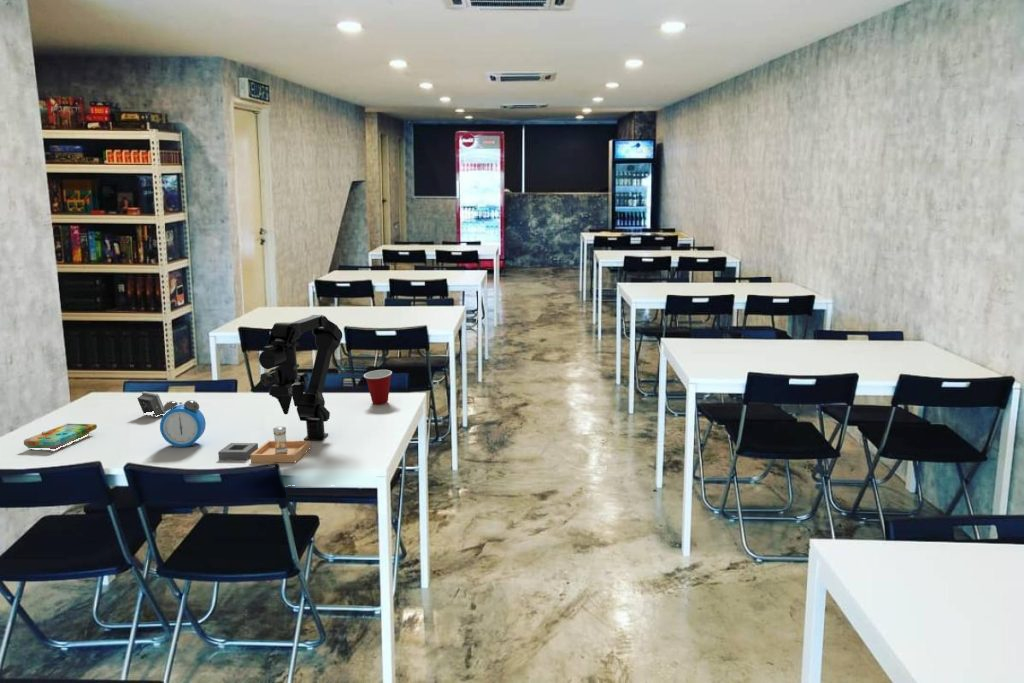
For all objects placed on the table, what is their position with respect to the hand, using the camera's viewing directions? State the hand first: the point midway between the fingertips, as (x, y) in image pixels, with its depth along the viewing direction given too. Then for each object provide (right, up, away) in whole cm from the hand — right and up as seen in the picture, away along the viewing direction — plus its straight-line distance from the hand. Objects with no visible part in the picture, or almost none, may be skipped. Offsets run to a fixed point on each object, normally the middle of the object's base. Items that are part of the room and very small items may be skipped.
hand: (291, 410), depth 264 cm
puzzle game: (-82, -13, +18) cm, 85 cm away
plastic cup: (+19, -2, +56) cm, 59 cm away
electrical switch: (-64, -6, +47) cm, 80 cm away
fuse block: (-16, -14, -2) cm, 21 cm away
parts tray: (-2, -14, -3) cm, 14 cm away
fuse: (-2, -13, -3) cm, 14 cm away
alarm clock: (-38, -13, +11) cm, 41 cm away
